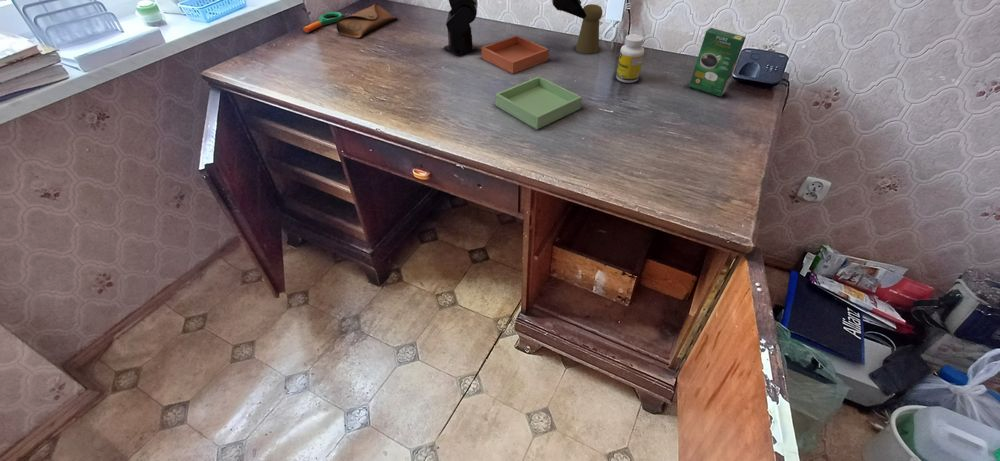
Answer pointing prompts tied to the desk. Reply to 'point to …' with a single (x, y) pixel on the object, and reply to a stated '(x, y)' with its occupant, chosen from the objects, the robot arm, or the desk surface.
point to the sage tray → (538, 102)
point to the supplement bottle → (630, 59)
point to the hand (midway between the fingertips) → (582, 10)
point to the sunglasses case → (364, 21)
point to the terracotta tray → (515, 54)
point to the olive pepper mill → (590, 30)
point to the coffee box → (716, 61)
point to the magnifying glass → (324, 21)
